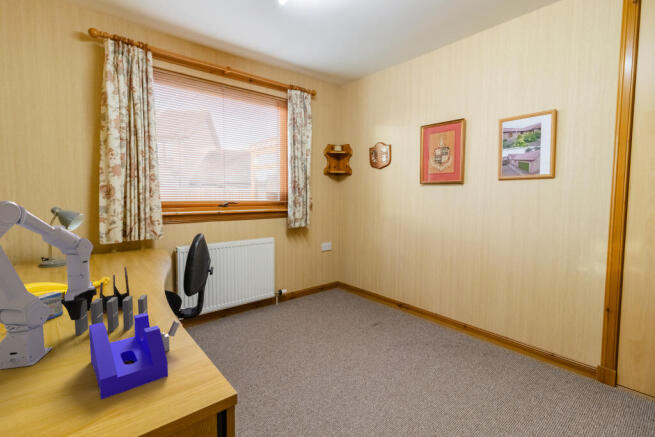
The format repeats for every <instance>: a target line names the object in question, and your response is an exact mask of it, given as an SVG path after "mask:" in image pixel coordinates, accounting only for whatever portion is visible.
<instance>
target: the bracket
mask: <svg viewBox="0 0 655 437" xmlns="http://www.w3.org/2000/svg"><path fill="white" fill-rule="evenodd" d="M149 316H150V315H149V313H148V314H147V313H143V314H136V315H134V314H133V321H134V324H133V326H134V336H132V337H127V338H123V339H120V340H117V341H112V342H111V341H110V339H109V335H108V329H107V327H106V325H105V322H104V321H103V322H102V323H97V324H93V325H91V324H88V335H89V349H90V352H89V353H90V363H91V365H92V367H93V370H94V374H95V375H94V376H95V378H96V382H97V385H98V389H99V395H100V399H101V400H104V399H106V398H109V397H113V396H115V395H119V394H122V393H125V392H127V391H130V390H133V389H135V388H138V387H140V386H141V387H142V386H143V385H146V384H149V383H151V382H155V381H158V380H161V379H164V378H166V377H168V376H169V367H168V366H169V365H168V364H169V362H168V357H167V354H166V351H165V348H164V344H163V340H162V336H161V333H162V332H161V329H160V327H159V326H158V325H154V326H150V320H149V318H150V317H149ZM129 361H132V362H134V363H130V364H126V363H125V362H129Z"/></svg>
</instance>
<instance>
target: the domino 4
mask: <svg viewBox="0 0 655 437" xmlns="http://www.w3.org/2000/svg"><path fill="white" fill-rule="evenodd" d="M133 302H134V301H133V295H130V296H127V297H126V298H125V299H124V300H123V301H122V303H123V310H122V319H123V320H122V321H123V322H122V323H123V324H122V325H123V331H128V330H130V329H131V328H132V327H133V326H134V305H133Z"/></svg>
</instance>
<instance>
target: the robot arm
mask: <svg viewBox="0 0 655 437" xmlns="http://www.w3.org/2000/svg"><path fill="white" fill-rule="evenodd" d="M15 225H16V226H19V227H21V228H23V229H26V230H28V231H31V232H32V233H35V234H37V235H40V236H41V238H42V239H41V240H42V241H43V242H44V243H46V244H48V245H50V246H53V247H55V248H56V249H58V250H59V251H60V253H61V254H62V255H65V260H66V262H65V263H66V276H67V277H66V278H67V287H68V289H67V293H66V294H65V293H64V297H63V298H62V300H61V303H62V306H63V307H64V308H65V309H66V311H67V313H68V316H69V319H70V321H75V320H79V319H80V316H81V307H82V303H83V301H84V300H86V299H87V312H91V308H90V303H92V302H93V299H94V296H95V295H94V294H95V292H96V290H97V288H96V287H95V285H93V281H91V275H90V274H91V273H90V259H91V253H92V252H93V249H94V245H93V244H92V242H91V241H90V240H89V239H88V238H86V237H80V236H79V235H78V234H77V232H76V233H74V232H72V231H69V230H67V229H66V228H67V226H65V225H63V224H62V225H60V224H58V225H57V224H54V225H50V224H49V223H47V222H46V221H44V220H42V219H41V218H39V217H38V216H36V215H34V214H32V213H31V212H29V211H28V210H27V209H26V207H24V206H22V205H20V204H17V203H16V202H14V201H13V200H7V199H6V200H0V239H1V238H2V237H4V236H5V234H6V233H7V232H8V231H10V229H12V228H13V227H14V226H15ZM92 285H93V286H92ZM37 296H38V295H36V294H33V293H32V292H30V291H28V289H27V288H26V286H25V284H24V283H23V280H22V279H21V277H20V276H19V273H18V272H17V271H16V269H15V267H14V265H13V263H12V262H11V260H10V259H9V257H8V255H7V253H6V252H5V250H4V249H3V246H2V245H1V244H0V324H2V325H4V329H5V330H6V334H5V336H4V338H3V339H2V340H1V341H0V370H5V369H12V368H20V367H21V368H22V367H28V366H33V365H35V364H36V363H38V362H39V361H40V360H42V358H43V357H44V356H46V355H47V354H48V353H49V352H51V351H52V349H53V347H52V346H49V347H45V334H44V325H45V323H46V322H47V321H48V320H47V318H48V317H49V313H50V309H49V307H48V305H47V304H45V303H43V302H41V300H40V299H39V297H37ZM46 320H47V321H46Z"/></svg>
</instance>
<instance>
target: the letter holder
mask: <svg viewBox="0 0 655 437" xmlns="http://www.w3.org/2000/svg"><path fill="white" fill-rule="evenodd" d="M124 278H125V289H126V292H125V293H120V291H119V289H118V288H117V286H116V275H115V274H113V275H112V290H113V292H112V293H113V294H111V295H104V293H103V292H104V289H103V288H104V287H103V285H104V282H103V281H100V286H99V298H102V306H103V314H107V301H109V300H110V299H111V298H112V297H117V298H118V310H119V311H123V303H122V301H123V300H124V299H125V298H126V297H127V296H131V295H130V287H129V276H128V270H127V267H126V266H124Z"/></svg>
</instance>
